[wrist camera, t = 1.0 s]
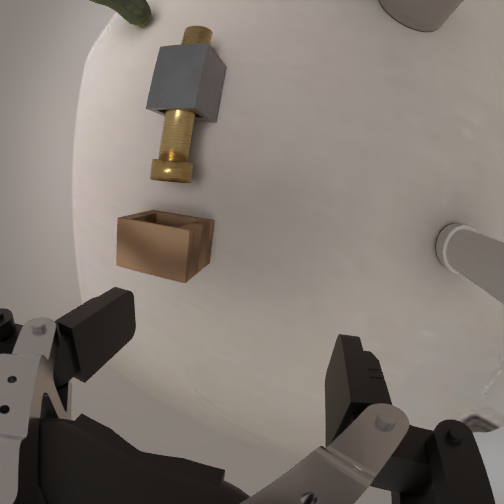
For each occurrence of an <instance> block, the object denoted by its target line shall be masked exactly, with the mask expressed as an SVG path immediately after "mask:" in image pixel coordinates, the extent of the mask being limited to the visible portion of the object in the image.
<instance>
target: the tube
mask: <svg viewBox="0 0 504 504" xmlns="http://www.w3.org/2000/svg"><path fill="white" fill-rule="evenodd" d="M211 37H212V31H211V30H210V29H208V28H206V27H202V26H190V27H188V28H186V29H185V32H184V36H183V39H182V43H181V45H184V44H199V43H209V45H210V41H211ZM194 119H195V112H193V111H192V110H166V115H165V121H164V127H163V133H162V139H161V146H160V152H159V160H157V159H153V160H152V168H151V176H150V179H152V180H159V181H168V182H181V183H191V178H192V170H193V163H189V162H188V156H189V150H190V143H191V137H192V131H193V125H194Z"/></svg>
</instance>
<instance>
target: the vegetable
mask: <svg viewBox="0 0 504 504" xmlns="http://www.w3.org/2000/svg"><path fill="white" fill-rule="evenodd" d="M90 1H93V2H95V3H98V4H102V5H105V6H108V7H110V8H112V9H114V10H115V11H116V12H118V13H119V14H120V15H121V16H122V17H123V18H124V19H126V20H127V21H128V22H129V23H130V24H134V25H140V26H141V27H143V25H145V24H146V23H148V21H149V18H150V17H151V10H150V7H149V5H148V3H147V1H146V0H90Z"/></svg>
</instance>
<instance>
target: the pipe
mask: <svg viewBox="0 0 504 504" xmlns="http://www.w3.org/2000/svg"><path fill="white" fill-rule="evenodd" d="M436 252H437V257H438V259H439V261H440V262H441V263H442V264H443V265H444V266H445V267H446V268H447V269H448V270H450V271H451V272H452V273H454V274H462V275H463V276H465V277H466V278H468V279H469V280H471V281H472V282H474V283H475V284H476V285H478V286H479V287H481V288H482V289H483V290H485V291H486V292H488V293H489V294H490V295H492V296H493V297H494V298H496V299H497V300H498V301H500V302H501V303H502V304H504V243H503V242H500V241H498V240H495V239H493V238H490V237H487V236H484V235H482V234H479V233H477V232H476V231H475V230H474V229H473V228H471V227H470V226H467V225H462V224H461V225H460V224H455V223H454V224H451V225H448V226H446V227H445V228H444V229H443V230H442V231H441V232H440V234H439V236H438V238H437V243H436Z"/></svg>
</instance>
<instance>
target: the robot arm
mask: <svg viewBox="0 0 504 504" xmlns="http://www.w3.org/2000/svg"><path fill="white" fill-rule="evenodd" d="M379 1H380V3H381V5H382V6H383V8H384V9H385V10H386V11H387V12H388V13H389V14H390V15H391V16H392V17H393V18H395V19H396V20H397V21H399V22H400V23H402V24H404V25H406V26H408V27H410V28H413V29H416V30H419V31H426V32H429V31H434V30H437V29H438V28H440V27H441V25H442V24H443V23H444V22H445V21H446V20H447V18H448V17H449V16H450V15H451V14H452V13H453V12H454V11H455V9H456V8H457V7H458V6H459V5H460V4H461V2H462V1H463V0H379ZM135 329H136V322H135V307H134V295H133V293H132V292H131V291H128V290H124V289H121V288H117V287H114V288H112V289H110V290H109V291H107V292H105V293H104V294H102V295H100V296H99V297H95V298H92V299H90V300H88V301H87V302H85V303H84V304H83V305H80V306H79V307H77V309H74V310H72V311H71V312H69V313H67V314H66V315H64V316H62V317H61V318H59V319H57V320H56V321H53V320H51V319H49V318H35V319H32V320H30V321H28V322H27V323H25V324H24V325H19V324H15V323H14V319H13V315H12V313H11V311H10V310H8V309H0V504H354V503H355V502H356V501H357V500H358V499H359V497H360V496H361V495H362V494H363V493H364V491H365V490H366V489H367V488H368V487H369V486H372V487H376V488H380V489H385V490H389V491H391V496H392V504H495V501H494V497H493V493H492V489H491V486H490V482H489V479H488V476H487V472H486V469H485V466H484V463H483V460H482V457H481V454H480V452H479V449H478V446H477V444H476V441H475V438H474V436H473V433H472V431H471V430H470V429H469V428H468V426H466V425H465V424H463V423H462V422H460V421H457V420H444V421H442V422H440V423H439V424H438V425H437V426H436V428H435V429H434V431H432V430H427V429H423V428H418V427H414V426H411V425H409V420H408V418H407V416H406V414H405V413H404V412H403V411H402V410H400V409H399V408H397V407H395V406H393V405H392V402H391V399H390V395H389V392H388V389H387V385H386V382H385V379H384V376H383V372H382V371H381V370H382V369H381V366H380V363H379V360H378V359H377V358H376V357H375V356H374V355H373V354H372V353H371V352H370V351H363V348H362V344H361V340H360V337H357V336H349V335H342V334H339V335H338V337H337V340H336V343H335V346H334V350H333V353H332V356H331V359H330V363H329V366H328V369H327V373H326V378H325V409H326V448H324V447H323V446H320V447H318V448H317V449H315V450H314V451H313V452H311V453H310V454H309V455H308V456H307V457H305V458H304V459H303V460H302V461H300V462H299V463H298V464H296V465H295V466H294V467H293V468H291V469H290V470H289V471H287V472H286V473H285V474H283V475H282V476H281V477H279V478H278V479H276V480H275V481H274V482H272V483H271V484H269V485H268V486H266V487H265V488H263V489H262V490H260V491H259V492H258V493H256V494H254V495H253V496H251V497H250V496H249V495H247V494H246V493H245V492H243V491H242V490H241V489H239V488H237V487H236V486H234V485H232V484H230V483H228V482H226V481H224V474H225V470H223V469H219V468H215V467H211V466H207V465H204V464H201V463H197V462H194V461H191V460H187V459H184V458H177V457H169V456H163V455H157V454H151V453H145V452H141V451H139V450H138V449H136V448H135V447H133V446H132V445H131V444H129V443H128V442H127V441H125V440H124V439H123V438H122V437H120V436H119V435H118V434H116V433H115V432H114V431H113V430H112V429H110V428H108V427H106V426H104V425H102V424H100V423H98V422H96V421H95V420H93V419H91V418H89V417H87V416H85V415H84V414H81V415H80V416H79V417H78V418H77V419H76V420H75V421H73V420H71V402H72V383H71V380H70V379H71V378H73V377H75V378H77V379H79V380H80V381H82V382H84V383H85V382H86V381H87V380H88V379H89V378H90V377H92V375H94V374H95V373H96V372H97V371H98V370H99V369H100V368H101V367H102V366H103V365H104V364H105V363H106V362H107V361H109V360H110V359H111V358H112V357H113V356H114V355H115V354H116V353H117V352H118V351H119V350H120V349H121V348H122V347H123V346H125V345H126V344H127V343H128V342H129V341H130V340H131V339H132V337H133V336H134V333H135Z"/></svg>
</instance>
